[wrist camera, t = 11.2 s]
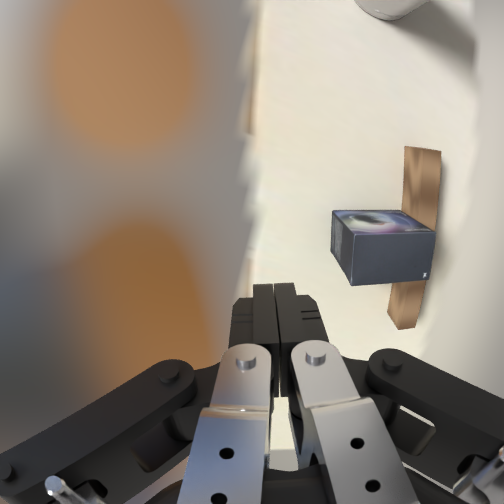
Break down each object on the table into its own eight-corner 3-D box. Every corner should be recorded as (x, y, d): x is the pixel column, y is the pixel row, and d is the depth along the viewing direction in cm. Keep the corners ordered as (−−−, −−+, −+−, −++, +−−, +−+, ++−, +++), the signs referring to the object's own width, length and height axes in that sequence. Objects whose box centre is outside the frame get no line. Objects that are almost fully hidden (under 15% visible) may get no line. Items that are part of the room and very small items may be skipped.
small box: (401, 206, 39) (439, 230, 30) (397, 249, 42) (430, 282, 32) (331, 207, 40) (354, 232, 30) (329, 253, 42) (350, 289, 32)
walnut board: (404, 146, 36) (422, 149, 32) (422, 147, 36) (441, 151, 31) (387, 312, 46) (398, 330, 41) (402, 310, 46) (415, 327, 41)
